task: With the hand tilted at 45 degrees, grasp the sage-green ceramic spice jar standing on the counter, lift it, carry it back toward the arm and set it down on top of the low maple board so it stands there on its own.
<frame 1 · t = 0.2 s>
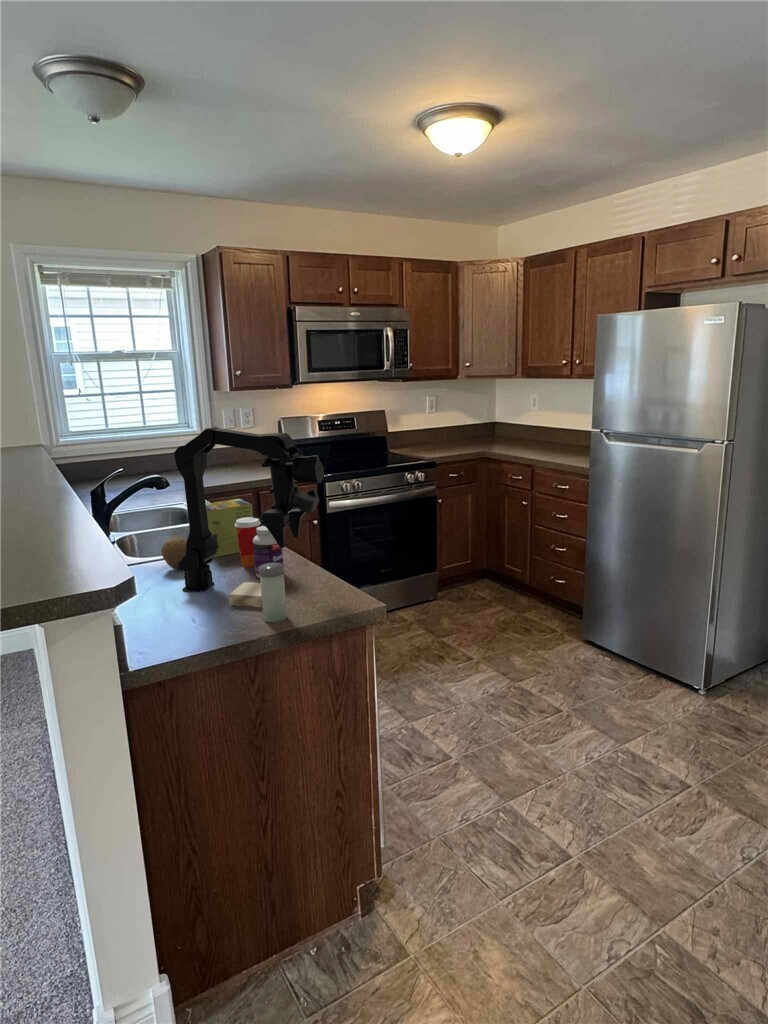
hand: (289, 542, 163), 14 cm above the counter, tool pointing down, fingers open, 9 cm apart
spice jar: (275, 617, 152), on the counter
pill bottle: (270, 576, 181), on the counter
protein box: (228, 550, 207), on the counter
maple board: (253, 599, 163), on the counter
red label supplement bottle: (250, 564, 192), on the counter
natural sponge: (179, 569, 189), on the counter
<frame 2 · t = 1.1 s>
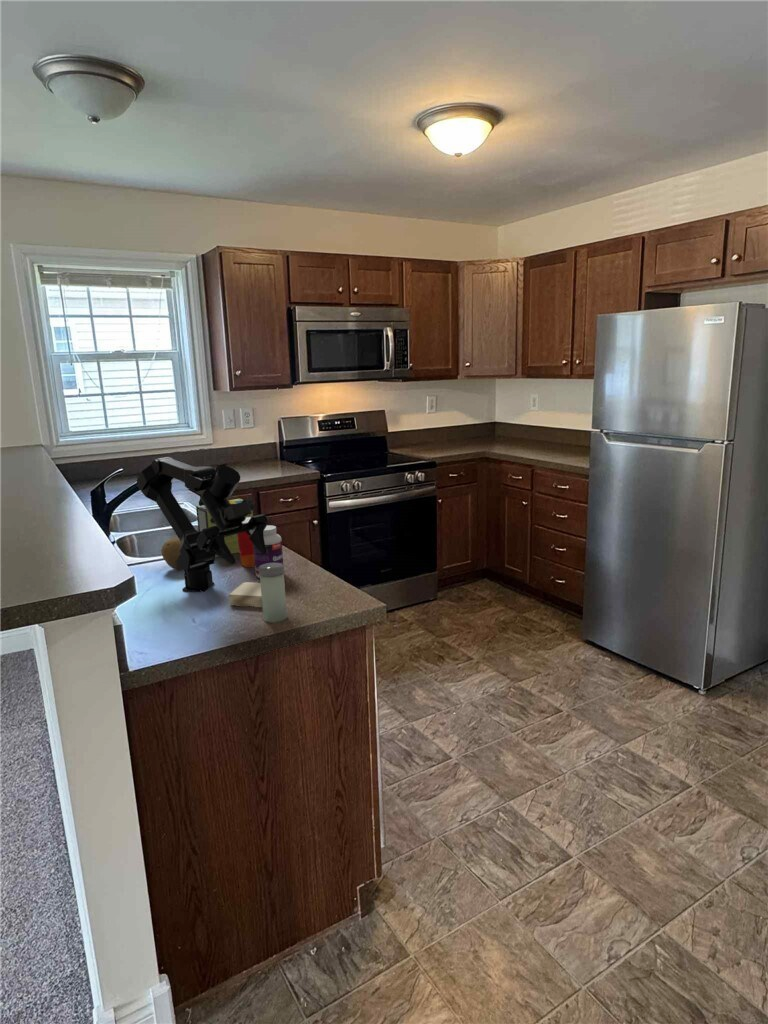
hand: (250, 558, 154), 13 cm above the counter, tool tilted 45°, fingers open, 9 cm apart
nothing on the counter moved.
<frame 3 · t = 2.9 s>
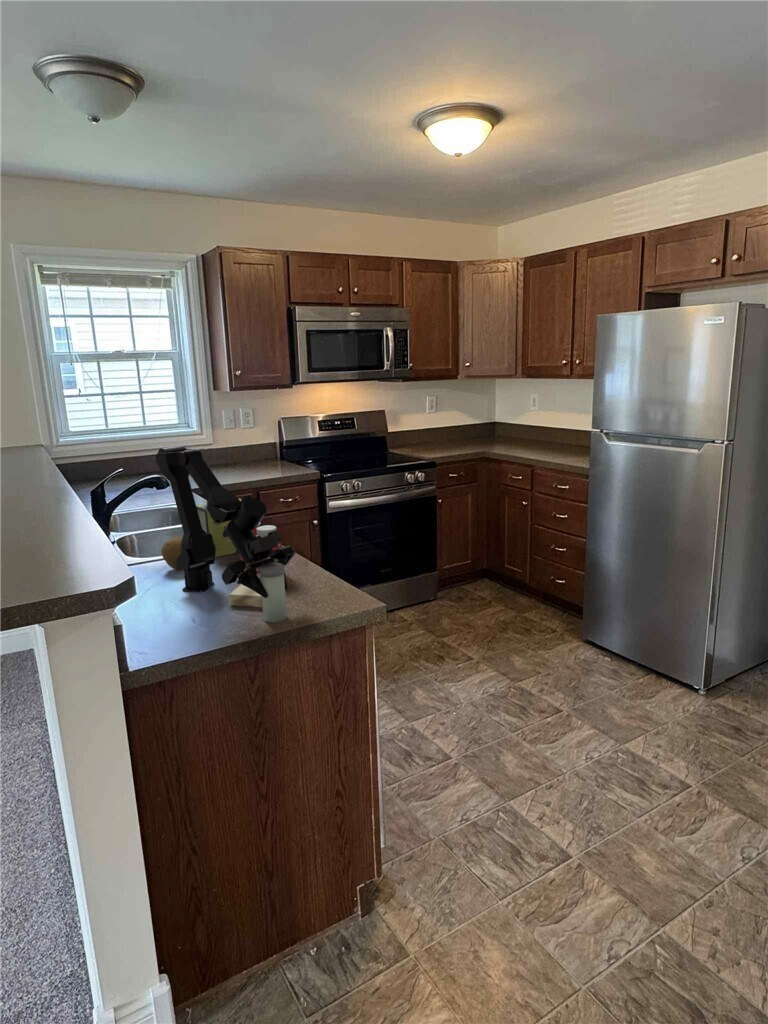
hand: (276, 593, 149), 7 cm above the counter, tool tilted 45°, fingers closed on spice jar, 6 cm apart
spice jar: (275, 617, 152), on the counter, touching gripper
everything else where it was.
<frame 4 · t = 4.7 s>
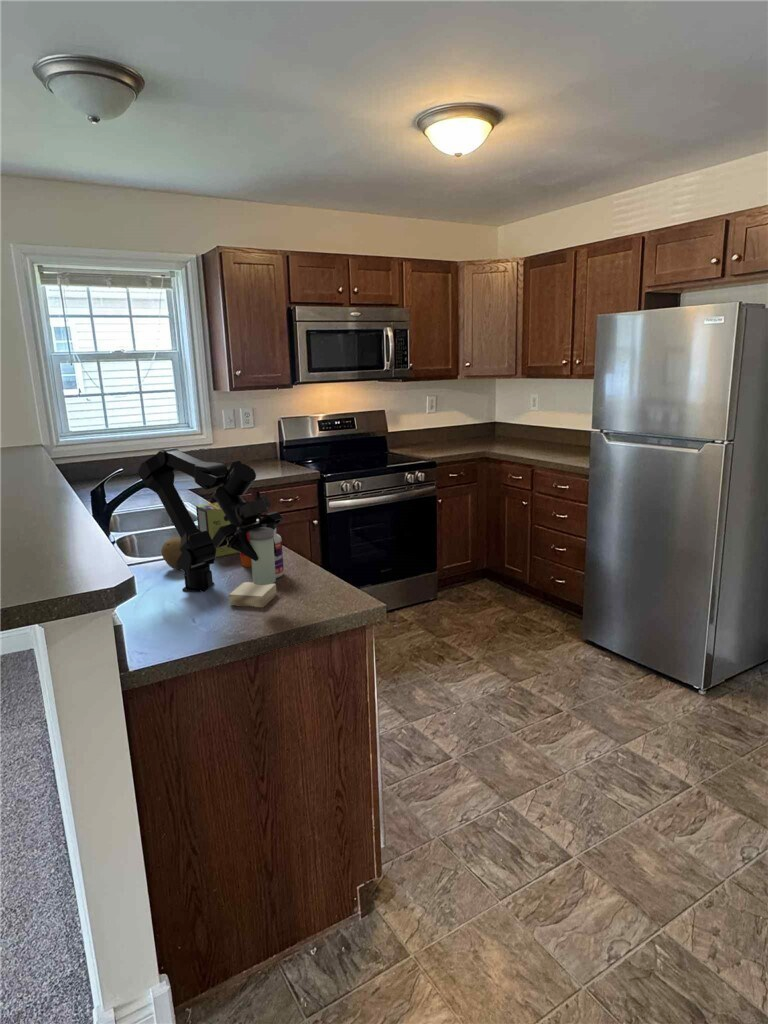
hand: (266, 556, 153), 14 cm above the counter, tool tilted 45°, fingers closed on spice jar, 6 cm apart
spice jar: (264, 581, 155), point 7 cm above the counter, touching gripper
everything else where it was.
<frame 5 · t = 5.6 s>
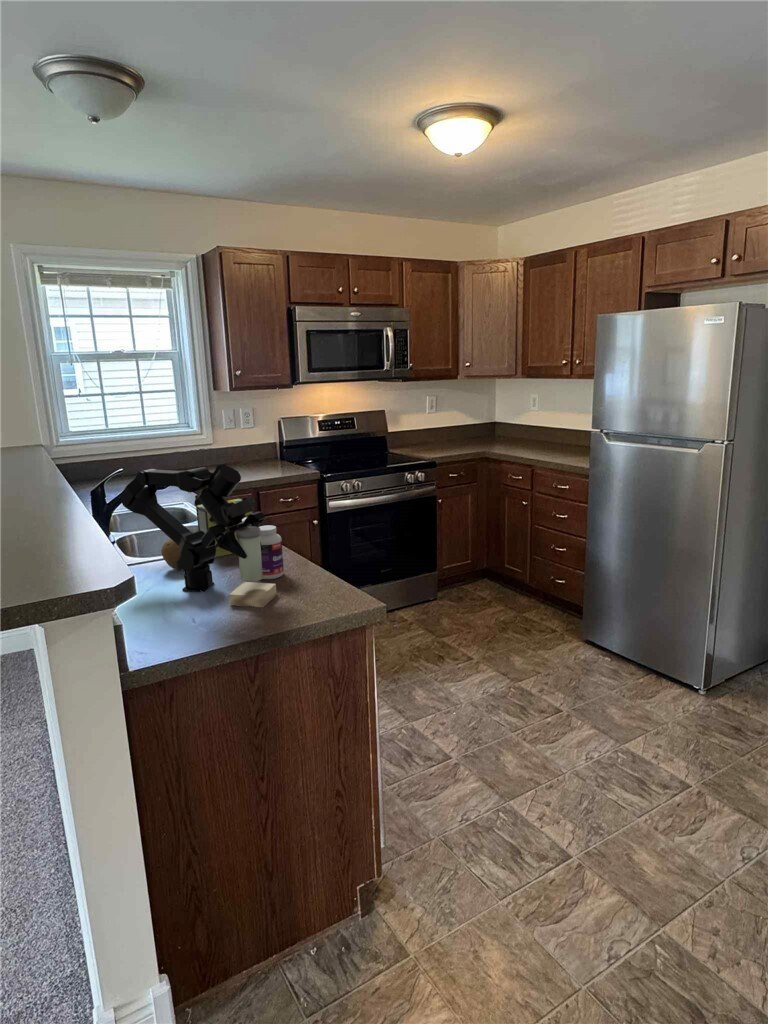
hand: (253, 554, 160), 13 cm above the counter, tool tilted 45°, fingers closed on spice jar, 6 cm apart
spice jar: (251, 577, 162), point 6 cm above the counter, touching gripper
everything else where it was.
when the fingers open (10 cm above the counter, at t = 6.4 s): spice jar stays where it is, resting on maple board.
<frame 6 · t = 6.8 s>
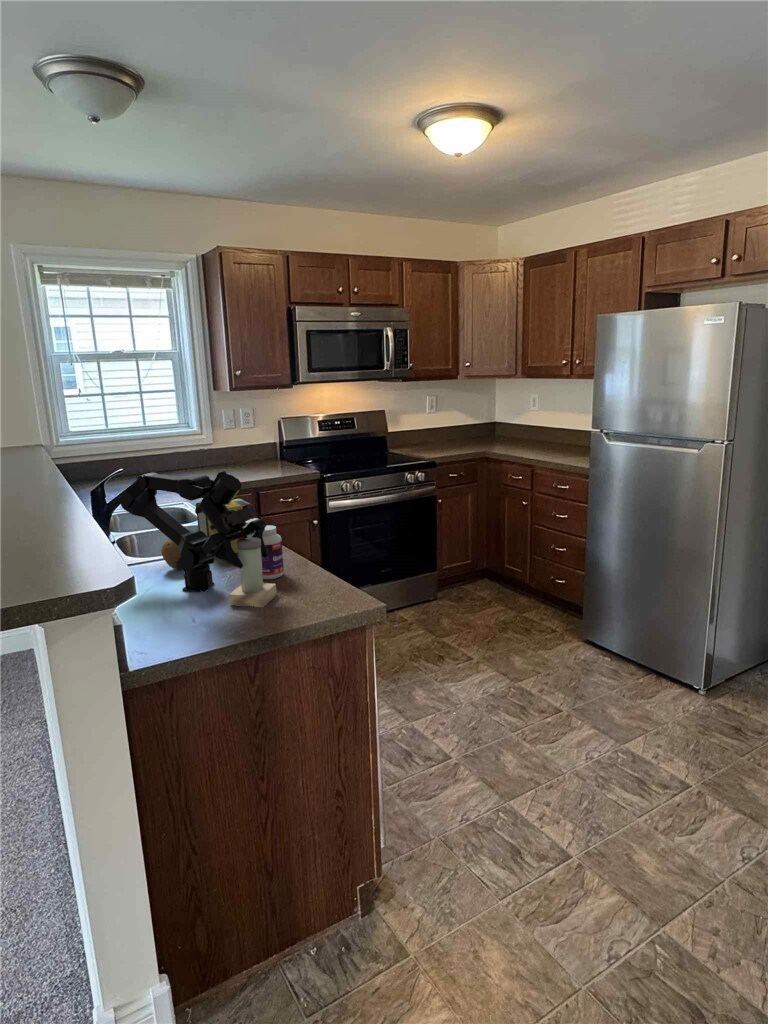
hand: (254, 561, 160), 11 cm above the counter, tool tilted 45°, fingers open, 9 cm apart
spice jar: (252, 588, 163), point 3 cm above the counter, touching maple board
everything else where it was.
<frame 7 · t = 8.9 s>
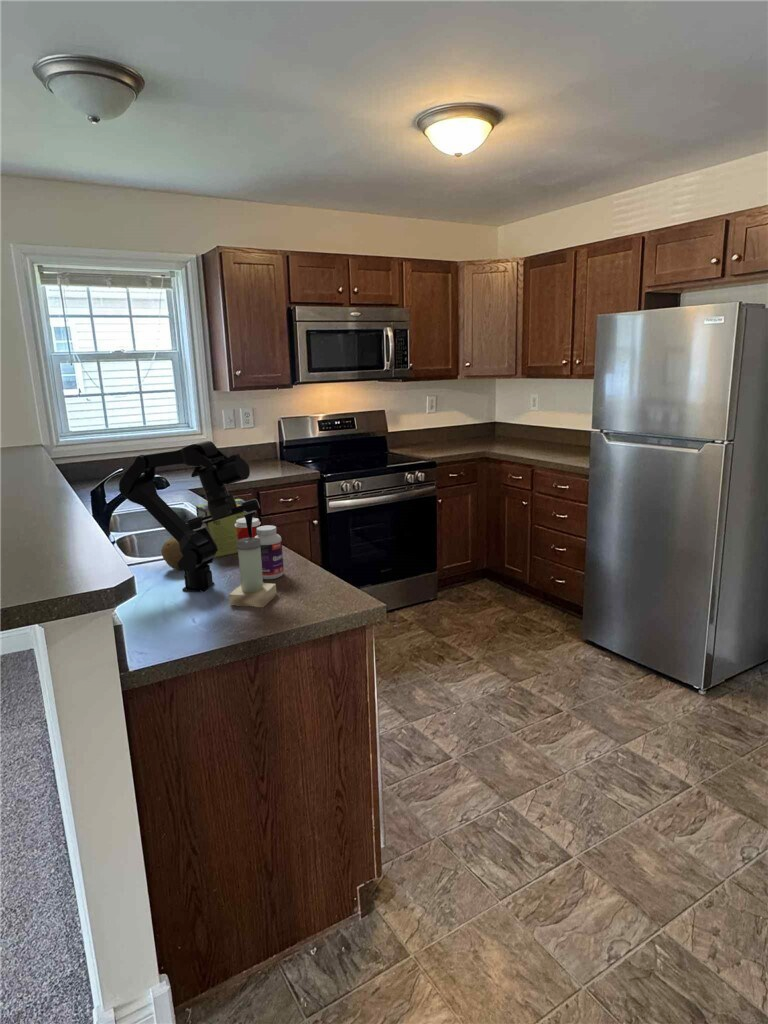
hand: (234, 545, 165), 13 cm above the counter, tool tilted 15°, fingers open, 9 cm apart
nothing on the counter moved.
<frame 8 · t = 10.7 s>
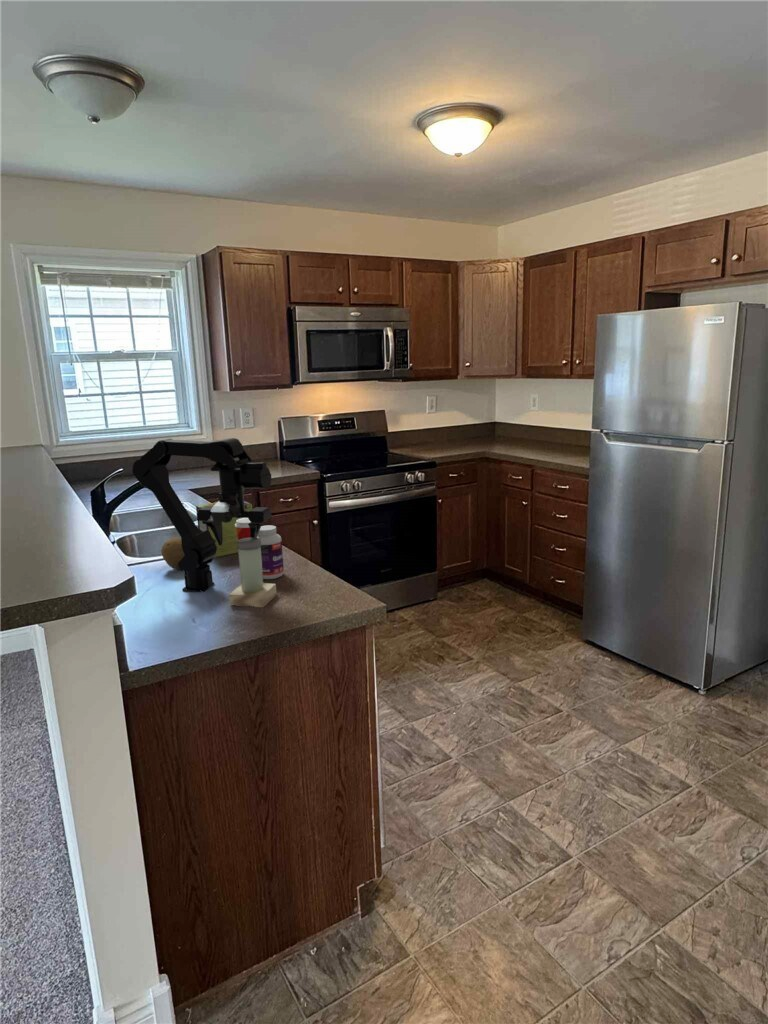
hand: (236, 545, 166), 13 cm above the counter, tool pointing down, fingers open, 9 cm apart
nothing on the counter moved.
at the end: spice jar inside the target area on the maple board (0.0 cm from its centre), point 3.0 cm above the maple board's base; spice jar tilted 0°; the gripper is holding nothing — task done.
